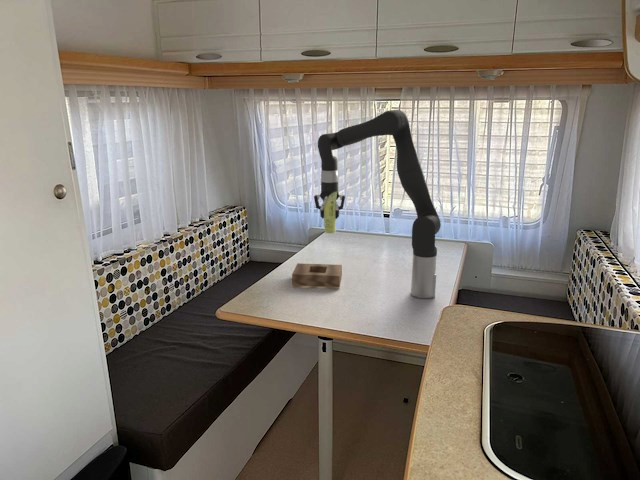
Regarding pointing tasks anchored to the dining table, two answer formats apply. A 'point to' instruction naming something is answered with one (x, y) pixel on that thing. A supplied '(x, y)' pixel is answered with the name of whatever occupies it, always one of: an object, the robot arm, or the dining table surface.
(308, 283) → the slotted block
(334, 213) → the tube
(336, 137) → the robot arm
